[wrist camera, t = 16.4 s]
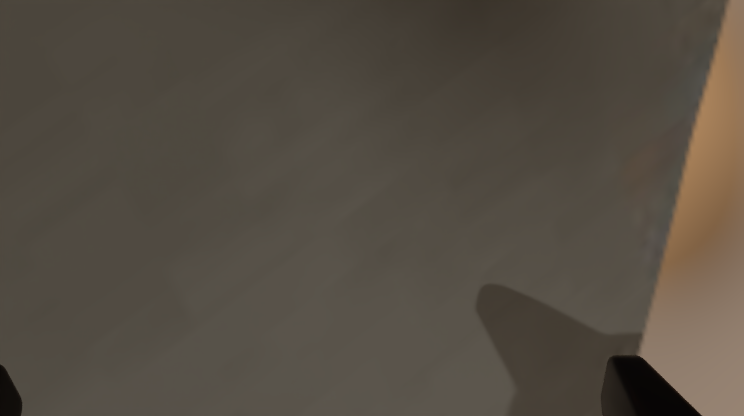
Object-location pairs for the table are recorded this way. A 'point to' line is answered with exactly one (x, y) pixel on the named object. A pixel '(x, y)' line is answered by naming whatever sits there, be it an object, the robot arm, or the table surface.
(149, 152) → the table surface
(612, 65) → the table surface
